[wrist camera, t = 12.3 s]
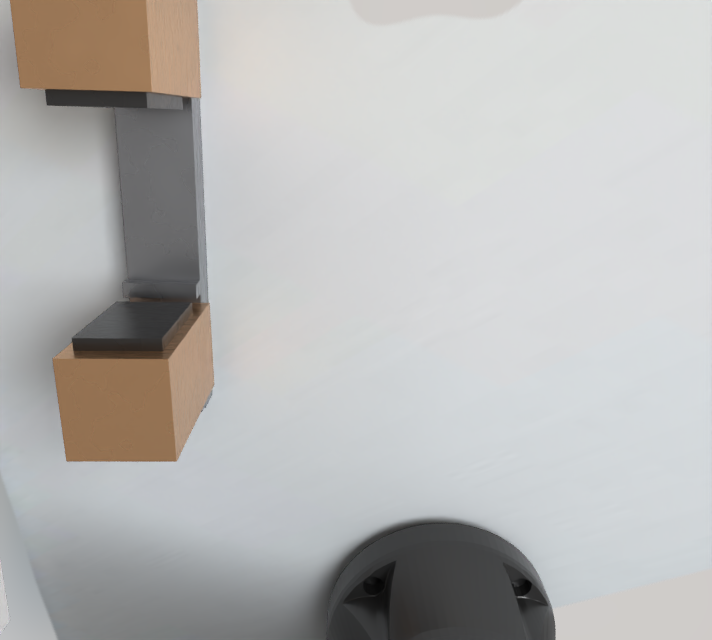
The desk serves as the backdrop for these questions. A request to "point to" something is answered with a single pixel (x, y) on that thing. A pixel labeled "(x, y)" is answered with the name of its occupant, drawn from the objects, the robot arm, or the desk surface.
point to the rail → (134, 121)
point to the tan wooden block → (135, 381)
